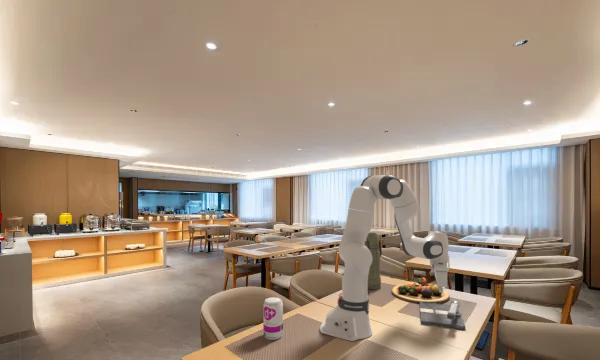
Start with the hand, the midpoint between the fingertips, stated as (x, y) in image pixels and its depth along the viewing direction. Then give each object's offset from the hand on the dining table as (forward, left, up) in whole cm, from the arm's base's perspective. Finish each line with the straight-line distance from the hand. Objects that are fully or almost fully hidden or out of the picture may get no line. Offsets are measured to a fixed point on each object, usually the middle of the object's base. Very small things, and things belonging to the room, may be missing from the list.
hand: (440, 291), depth 144 cm
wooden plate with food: (-9, +30, -12) cm, 34 cm away
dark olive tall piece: (-37, +35, -12) cm, 52 cm away
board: (-1, 0, -12) cm, 12 cm away
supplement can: (-69, -47, -12) cm, 84 cm away
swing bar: (+4, -8, -6) cm, 11 cm away
